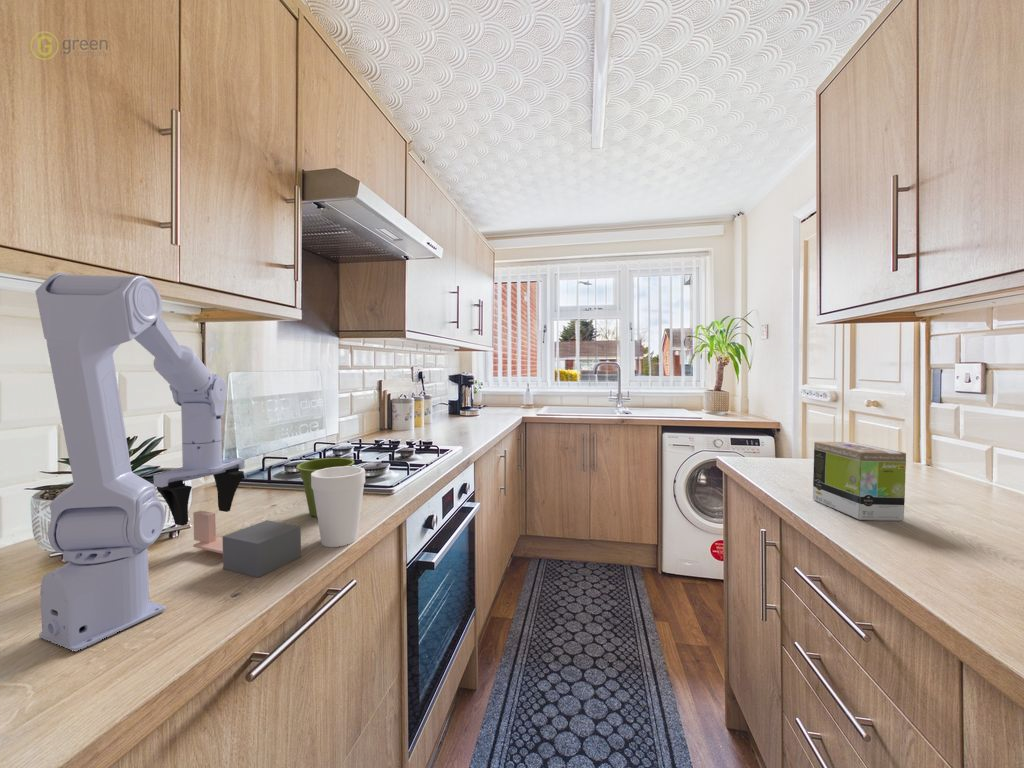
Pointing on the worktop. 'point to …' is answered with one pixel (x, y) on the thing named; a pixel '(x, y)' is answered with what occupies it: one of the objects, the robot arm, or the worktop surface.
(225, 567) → the grey square box
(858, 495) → the tea box
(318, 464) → the plant pot
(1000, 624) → the worktop surface
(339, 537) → the foam cup
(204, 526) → the pink stepped block
